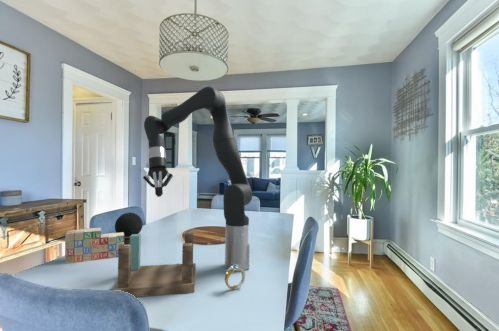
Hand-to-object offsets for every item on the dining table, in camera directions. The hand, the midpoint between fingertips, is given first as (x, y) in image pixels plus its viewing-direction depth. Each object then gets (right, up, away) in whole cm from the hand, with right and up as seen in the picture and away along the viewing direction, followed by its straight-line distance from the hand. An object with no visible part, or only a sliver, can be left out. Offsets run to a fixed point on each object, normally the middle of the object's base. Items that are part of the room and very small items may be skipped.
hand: (159, 196), depth 112 cm
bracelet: (+35, -27, -28) cm, 52 cm away
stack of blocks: (-27, -27, -2) cm, 38 cm away
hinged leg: (-2, -24, -19) cm, 31 cm away
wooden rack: (+8, -27, -24) cm, 37 cm away
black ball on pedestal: (-24, -27, +22) cm, 42 cm away
